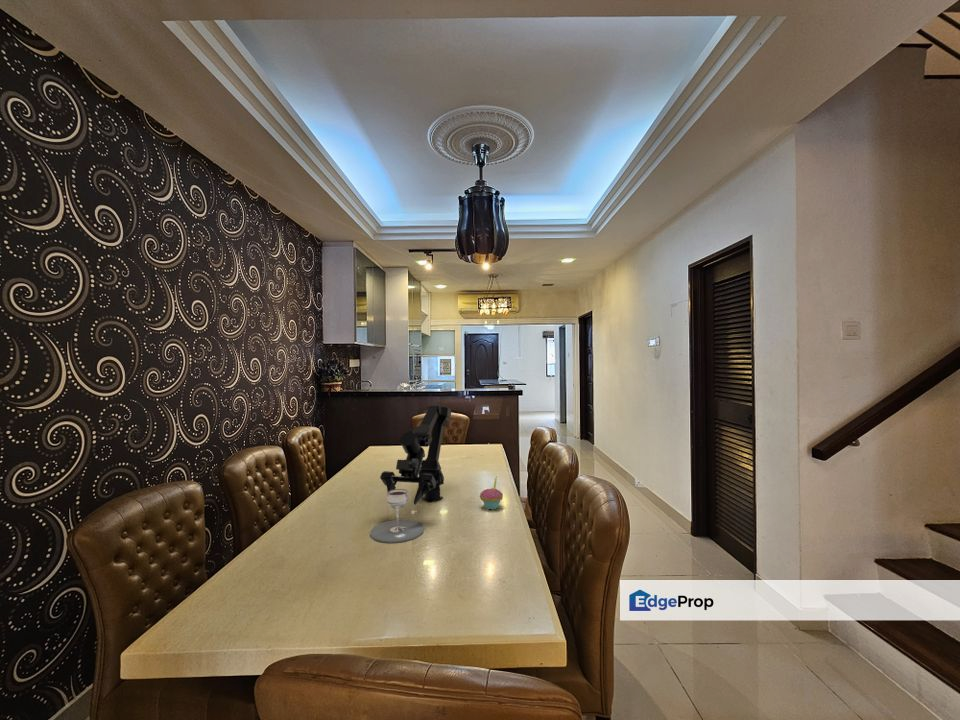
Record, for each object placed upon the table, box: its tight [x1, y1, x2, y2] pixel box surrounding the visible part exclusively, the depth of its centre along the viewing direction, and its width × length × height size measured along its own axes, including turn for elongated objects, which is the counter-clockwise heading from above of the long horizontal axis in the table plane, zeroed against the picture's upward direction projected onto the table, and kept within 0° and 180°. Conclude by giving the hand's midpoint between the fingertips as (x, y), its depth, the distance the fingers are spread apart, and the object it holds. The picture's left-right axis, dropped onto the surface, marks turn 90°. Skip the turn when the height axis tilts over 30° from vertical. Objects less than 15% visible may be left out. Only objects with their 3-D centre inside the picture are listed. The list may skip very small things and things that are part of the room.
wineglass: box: [386, 488, 409, 532], centre depth 135 cm, size 7×7×12 cm
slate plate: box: [370, 518, 425, 544], centre depth 135 cm, size 17×17×1 cm
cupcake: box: [479, 476, 504, 510], centre depth 156 cm, size 9×8×12 cm
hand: (401, 503), depth 138 cm, fingers open, 9 cm apart
